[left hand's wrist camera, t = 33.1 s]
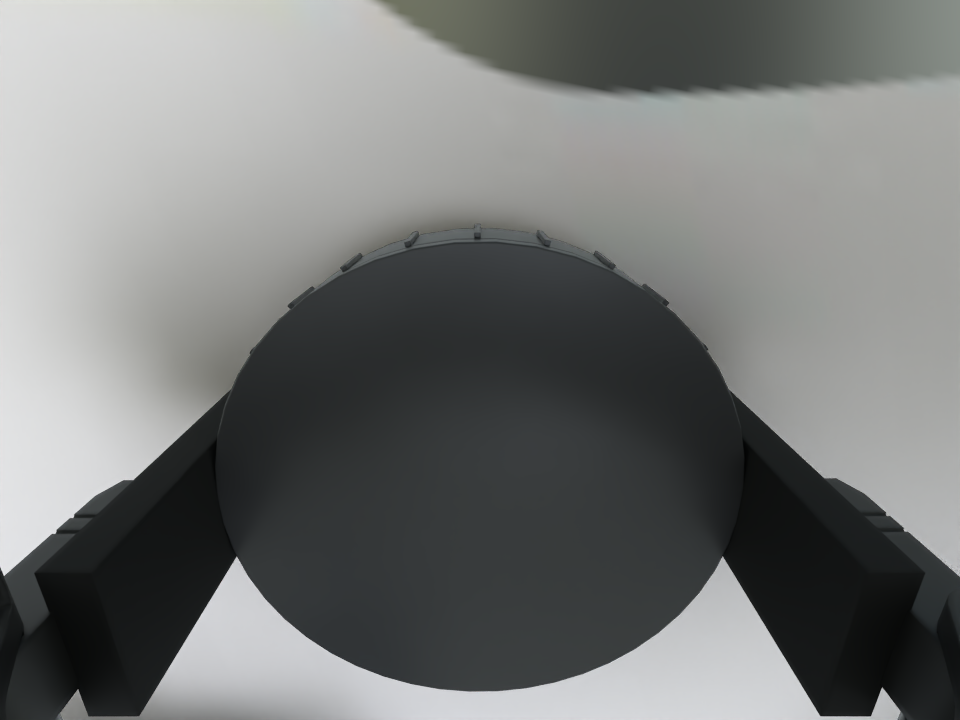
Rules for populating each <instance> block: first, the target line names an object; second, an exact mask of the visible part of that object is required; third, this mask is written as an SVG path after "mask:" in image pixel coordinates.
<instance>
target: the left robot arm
mask: <svg viewBox="0 0 960 720" xmlns="http://www.w3.org/2000/svg"><path fill="white" fill-rule="evenodd" d="M729 391H730V390H729ZM230 392H231V390H230V391H229V392H228V393H227V394H226V395H225V396H224V397H222V398H221V399H220V400H219V401H218V402H217V403H216V404H215V405H214V406H213V407H212V408H211V409H210V410H208V411H207V412H206V413H205V414H204V415H203V416H202V417H201V418H200V419H199V420H198V421H197V422H196V423H195V424H193V425H192V426H191V427H190V428H189V429H188V430H187V431H186V432H185V433H184V434H183V435H182V436H181V437H179V438H178V439H177V440H176V441H175V442H174V443H173V444H172V445H171V446H170V447H169V448H168V449H167V450H166V451H164V452H163V453H162V454H161V455H160V456H159V457H158V458H157V459H156V460H155V461H154V462H153V463H152V464H150V465H149V466H148V467H147V468H146V469H145V470H144V471H143V472H142V473H141V474H140V475H139V476H138V477H137V478H135V479H134V480H123V481H122V482H120V483H118V484H116V485H114V486H113V487H111V488H109V489H107V490H105V491H104V492H102V493H100V494H98V495H96V496H95V497H94V498H93V499H91V500H90V501H89V502H88V503H87V504H86V505H85V506H83V507H82V508H81V509H80V510H79V511H78V512H77V513H75V514H74V518H70V519H69V520H67V521H66V522H65V523H64V524H63V525H62V526H61V527H60V528H58V529H57V532H56V534H52V535H50V536H49V537H48V538H47V539H46V540H45V541H44V542H42V543H41V544H40V545H39V546H38V547H37V548H36V549H35V550H33V551H32V552H31V553H30V554H29V555H28V556H27V557H25V558H24V559H23V560H22V561H21V562H20V563H19V564H17V565H16V566H15V567H14V568H13V569H12V570H11V571H10V572H8V573H7V574H6V575H5V576H3V573H2V571H1V568H0V720H62V718H61V715H60V712H61V711H62V709H63V708H64V707H65V705H66V704H67V703H68V701H69V700H70V699H71V697H72V696H73V695H74V694H75V692H76V691H77V690H79V692H80V695H81V698H82V700H83V703H84V705H85V708H86V711H87V713H88V716H140V714H141V712H142V711H143V709H144V707H145V706H146V704H147V702H148V701H149V699H150V698H151V696H152V694H153V693H154V691H155V689H156V688H157V686H158V684H159V683H160V681H161V680H162V678H163V676H164V675H165V673H166V671H167V670H168V668H169V666H170V665H171V663H172V661H173V660H174V658H175V657H176V655H177V653H178V652H179V650H180V648H181V647H182V645H183V643H184V642H185V640H186V639H187V637H188V635H189V634H190V632H191V630H192V629H193V627H194V625H195V624H196V622H197V620H198V619H199V617H200V616H201V614H202V612H203V611H204V609H205V607H206V606H207V604H208V602H209V601H210V599H211V598H212V596H213V594H214V593H215V591H216V589H217V588H218V586H219V584H220V583H221V581H222V580H223V578H224V576H225V575H226V573H227V571H228V570H229V568H230V566H231V565H232V563H233V561H234V560H235V558H236V557H237V555H236V553H235V552H234V550H233V547H232V544H231V542H230V539H229V537H228V534H227V532H226V529H225V526H224V524H223V519H222V515H221V510H220V505H219V501H218V496H217V488H216V475H215V459H216V447H217V435H218V431H219V427H220V423H221V419H222V415H223V411H224V407H225V403H226V401H227V399H228V396H229V394H230ZM730 394H731V396H732V398H733V402H734V405H735V409H736V412H737V416H738V419H739V423H740V426H741V432H742V440H743V449H744V457H745V465H744V487H743V493H742V497H741V502H740V507H739V512H738V517H737V521H736V525H735V527H734V530H733V533H732V536H731V539H730V542H729V544H728V546H727V548H726V550H725V552H724V554H723V557H724V559H725V560H726V562H727V564H728V565H729V567H730V569H731V570H732V572H733V574H734V575H735V577H736V578H737V580H738V582H739V583H740V585H741V587H742V588H743V590H744V592H745V593H746V595H747V597H748V598H749V600H750V601H751V603H752V605H753V606H754V608H755V610H756V611H757V613H758V615H759V616H760V618H761V619H762V621H763V623H764V624H765V626H766V628H767V629H768V631H769V633H770V634H771V636H772V637H773V639H774V641H775V642H776V644H777V646H778V647H779V649H780V651H781V652H782V654H783V656H784V657H785V659H786V660H787V662H788V664H789V665H790V667H791V669H792V670H793V672H794V674H795V675H796V677H797V678H798V680H799V682H800V683H801V685H802V687H803V688H804V690H805V692H806V693H807V695H808V697H809V698H810V700H811V701H812V703H813V705H814V706H815V708H816V710H817V711H818V713H819V715H820V716H871V715H872V712H873V709H874V707H875V704H876V702H877V699H878V696H879V694H880V691H881V688H882V687H883V688H884V690H885V691H886V692H887V694H888V695H889V696H890V698H891V699H892V700H893V702H894V703H895V704H896V705H897V707H898V708H899V709H900V711H901V713H900V715H899V718H898V720H960V577H959V576H958V575H957V574H956V573H955V572H953V571H952V570H951V569H950V568H949V567H948V566H947V565H945V564H944V563H943V562H942V561H941V560H940V559H939V558H937V557H936V556H935V555H934V554H933V553H932V552H930V551H929V550H928V549H927V548H926V547H925V546H924V545H922V544H921V543H920V542H919V541H918V540H917V539H916V538H914V537H913V536H912V535H911V534H910V533H909V532H904V530H903V529H904V528H903V527H902V526H901V525H900V524H898V523H897V522H896V521H895V520H894V519H893V518H892V517H890V516H886V512H885V511H884V510H882V509H881V508H880V507H879V506H878V505H877V504H876V503H874V502H873V501H872V500H871V499H870V498H869V497H868V496H866V495H865V494H864V493H862V492H860V491H858V490H856V489H855V488H853V487H851V486H849V485H847V484H845V483H844V482H842V481H840V480H838V479H824V478H823V477H822V476H821V475H820V474H819V473H818V472H817V471H816V470H815V469H813V468H812V467H811V466H810V465H809V464H808V463H807V462H806V461H805V460H804V459H803V458H802V457H801V456H799V455H798V454H797V453H796V452H795V451H794V450H793V449H792V448H791V447H790V446H789V445H788V444H787V443H786V442H784V441H783V440H782V439H781V438H780V437H779V436H778V435H777V434H776V433H775V432H774V431H773V430H772V429H770V428H769V427H768V426H767V425H766V424H765V423H764V422H763V421H762V420H761V419H760V418H759V417H758V416H757V415H755V414H754V413H753V412H752V411H751V410H750V409H749V408H748V407H747V406H746V405H745V404H744V403H743V402H741V401H740V400H739V399H738V398H737V397H736V396H735V395H734V394H733V393H732V392H731V391H730Z"/></svg>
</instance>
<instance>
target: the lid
mask: <svg viewBox="0 0 960 720" xmlns="http://www.w3.org/2000/svg"><path fill="white" fill-rule="evenodd" d="M615 266H616V265H615V264H613V263H612V262H611V261H609V260H608V259H607V258H606V257H604V256H603V255H602V254H601V253H599V252H597V251H595V253H594V254H592V253H589V252H587V251H584V250H582V249H579V248H577V247H575V246H572V245H570V244H567V243H565V242H562V241H559V240H556V239H552V238H548V237H547V236H546V235H545V233H544V232H543V231H539V230H538V231H537V235H536V234H532V233H528V232H521V231H512V230H504V229H496V228H481V224H475V229H454V230H447V231H440V232H434V233H427V234H422V235H419V233H418V231H417V232H413V233H412V234H411V235H410V236H409V237H408V239H405V240H402V241H398V242H395V243H392V244H389V245H387V246H385V247H383V248H380V249H378V250H376V251H374V252H371V253H369V254H367V255H365V256H362V255H361V253H359V254H357V255H356V256H354V257H353V258H352V259H350V260H349V261H348V262H347V263H345V264H344V265H343V266H342V267H340V269H341V270H340V271H338V272H337V273H335V274H333V275H332V276H331V277H330V278H328V279H327V280H326V281H325V282H323V283H322V284H321V285H320V286H318V287H317V288H316V289H314V288H313V287H311V288H309V289H308V290H307V291H305V292H304V293H303V294H302V295H300V296H299V297H298V298H296V299H295V300H294V301H292V302H291V303H290V304H289V305H288V307H289V308H290V309H291V310H289V311H288V312H287V313H286V314H285V315H284V316H282V317H281V318H280V319H279V320H278V321H277V322H276V323H275V324H274V326H273V327H272V328H271V329H270V330H269V331H268V333H267V334H266V335H265V336H264V337H263V338H262V339H261V341H260V342H259V343H258V344H257V345H256V346H255V347H254V348H253V349H252V350H251V351H250V356H249V358H248V359H247V361H246V362H245V364H244V366H243V367H242V369H241V370H240V372H239V374H238V375H237V378H236V380H235V382H234V385H233V387H232V389H231V392H230V394H229V396H228V399H227V401H226V403H225V407H224V411H223V415H222V419H221V423H220V427H219V431H218V435H217V447H216V459H215V475H216V488H217V496H218V501H219V505H220V510H221V515H222V519H223V524H224V526H225V529H226V532H227V534H228V537H229V539H230V542H231V544H232V547H233V550H234V552H235V553H236V555H237V557H238V559H239V561H240V562H241V564H242V566H243V568H244V570H245V571H246V573H247V575H248V576H249V578H250V579H251V580H252V582H253V583H254V584H255V586H256V587H257V588H258V590H259V591H260V592H261V594H262V595H263V596H264V598H265V599H266V600H267V601H268V602H269V603H270V604H271V605H272V606H273V607H274V608H275V609H276V610H277V612H278V613H279V614H280V615H281V616H282V617H283V618H284V619H285V620H287V621H288V622H289V623H290V624H291V625H293V626H294V627H295V628H296V629H297V630H299V631H300V632H301V633H302V634H304V635H305V636H306V637H307V638H309V639H310V640H312V641H313V642H315V643H317V644H318V645H320V646H321V647H323V648H324V649H326V650H327V651H329V652H330V653H332V654H334V655H336V656H338V657H340V658H342V659H344V660H346V661H348V662H350V663H352V664H354V665H356V666H358V667H361V668H363V669H366V670H369V671H371V672H374V673H376V674H379V675H381V676H384V677H388V678H391V679H395V680H399V681H402V682H406V683H410V684H414V685H420V686H425V687H431V688H437V689H445V690H457V691H503V690H513V689H522V688H529V687H534V686H539V685H544V684H549V683H554V682H558V681H561V680H564V679H568V678H571V677H574V676H578V675H581V674H584V673H586V672H589V671H591V670H593V669H596V668H598V667H601V666H603V665H605V664H608V663H610V662H612V661H614V660H616V659H617V658H619V657H621V656H623V655H625V654H627V653H629V652H630V651H632V650H634V649H636V648H637V647H639V646H640V645H641V644H643V643H644V642H646V641H647V640H649V639H650V638H652V637H653V636H655V635H656V634H657V633H659V632H660V631H661V630H662V629H663V628H665V627H666V626H667V625H668V624H669V623H670V622H671V621H673V620H674V619H675V618H676V617H677V616H678V615H680V613H681V612H682V611H683V610H684V609H685V608H686V607H687V606H688V605H689V604H690V602H691V601H692V600H693V599H694V598H695V597H696V596H697V595H698V594H699V592H700V591H701V590H702V588H703V587H704V585H705V584H706V582H707V581H708V580H709V578H710V577H711V575H712V574H713V572H714V571H715V570H716V568H717V566H718V564H719V562H720V560H721V558H722V556H723V554H724V552H725V550H726V548H727V546H728V544H729V542H730V539H731V536H732V533H733V530H734V527H735V525H736V521H737V517H738V512H739V507H740V502H741V497H742V493H743V487H744V465H745V457H744V449H743V440H742V432H741V426H740V423H739V419H738V416H737V412H736V409H735V405H734V402H733V398H732V396H731V394H730V391H729V389H728V387H727V385H726V383H725V381H724V379H723V377H722V374H721V372H720V370H719V368H718V367H717V365H716V364H715V362H714V361H713V359H712V358H711V356H710V355H709V353H708V352H707V350H708V349H707V347H706V346H705V345H704V344H703V343H702V342H701V341H700V340H699V339H698V338H697V337H696V336H695V335H694V333H693V332H692V331H691V330H690V329H689V328H688V327H687V326H686V325H685V324H684V323H683V322H682V321H681V320H680V318H679V317H678V316H677V315H676V314H675V313H674V312H672V311H671V310H670V309H669V308H667V307H666V306H667V305H668V304H669V302H668V301H667V300H665V299H664V298H663V297H662V296H660V295H659V294H658V293H656V292H655V291H654V290H652V289H651V288H650V287H648V286H647V285H646V284H644V285H643V286H642V287H641V286H640V285H638V284H637V283H636V282H635V281H633V280H632V279H631V278H630V277H628V276H627V275H626V274H625V273H623V272H622V271H621V270H619V269H617V268H616V267H615Z"/></svg>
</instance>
